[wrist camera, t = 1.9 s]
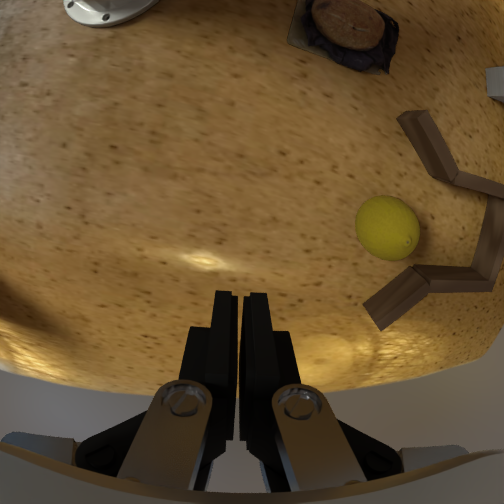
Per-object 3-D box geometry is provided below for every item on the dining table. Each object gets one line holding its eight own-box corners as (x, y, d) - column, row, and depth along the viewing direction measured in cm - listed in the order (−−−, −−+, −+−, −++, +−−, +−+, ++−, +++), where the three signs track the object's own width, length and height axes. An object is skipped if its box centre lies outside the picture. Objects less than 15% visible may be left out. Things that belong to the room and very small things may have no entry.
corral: (396, 108, 25) (417, 106, 21) (502, 147, 26) (524, 151, 22) (360, 311, 33) (372, 331, 29) (463, 308, 34) (478, 323, 30)
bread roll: (282, 49, 23) (287, 37, 20) (301, -17, 20) (309, -33, 17) (384, 86, 25) (402, 82, 21) (398, 21, 22) (415, 12, 18)
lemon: (401, 205, 29) (445, 228, 21) (375, 249, 30) (411, 284, 23) (361, 177, 27) (401, 194, 20) (334, 226, 29) (363, 258, 22)
